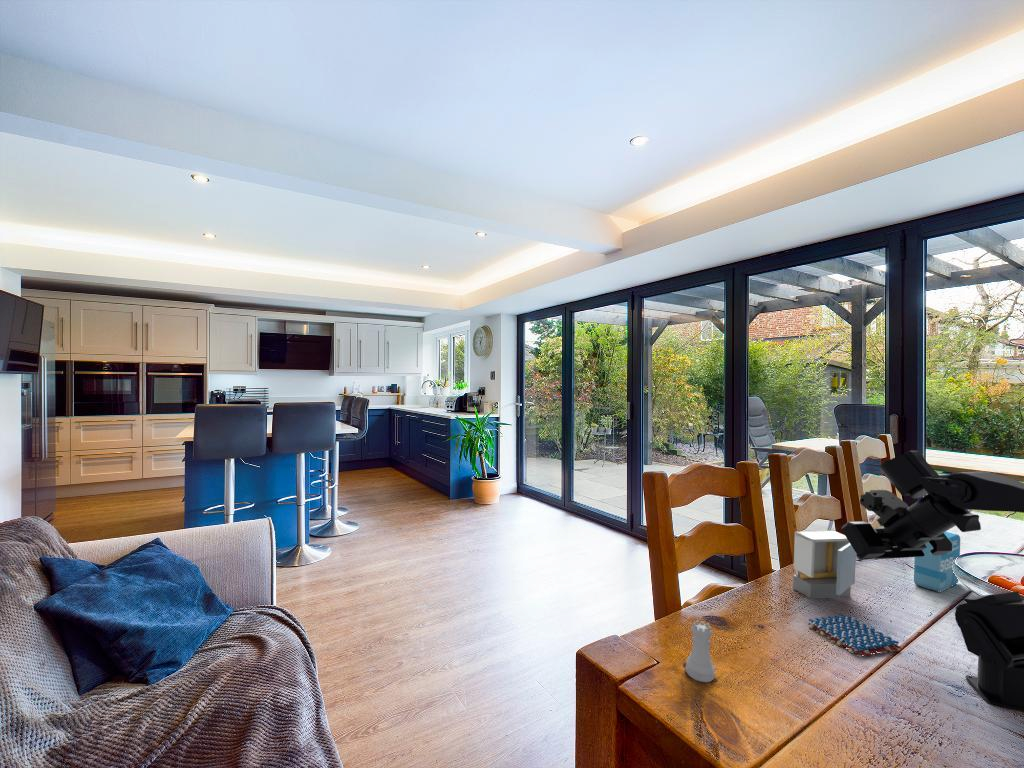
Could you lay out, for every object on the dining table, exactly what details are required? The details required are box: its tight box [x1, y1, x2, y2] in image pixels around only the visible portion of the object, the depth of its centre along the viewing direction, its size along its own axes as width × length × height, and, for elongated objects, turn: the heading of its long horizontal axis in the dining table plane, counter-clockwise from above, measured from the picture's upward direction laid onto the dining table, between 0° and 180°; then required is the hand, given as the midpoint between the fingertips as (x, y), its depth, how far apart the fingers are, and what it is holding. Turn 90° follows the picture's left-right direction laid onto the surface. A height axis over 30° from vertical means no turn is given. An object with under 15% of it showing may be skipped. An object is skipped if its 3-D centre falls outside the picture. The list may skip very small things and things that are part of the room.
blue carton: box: [913, 531, 961, 593], centre depth 109 cm, size 12×4×12 cm, turn 119°
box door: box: [836, 543, 857, 595], centre depth 98 cm, size 1×10×9 cm, turn 129°
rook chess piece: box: [685, 620, 716, 683], centre depth 73 cm, size 4×4×8 cm
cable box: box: [792, 530, 852, 600], centre depth 103 cm, size 5×10×13 cm, turn 99°
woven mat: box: [807, 613, 902, 657], centre depth 85 cm, size 10×11×2 cm
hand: (866, 557), depth 92 cm, fingers open, 3 cm apart
